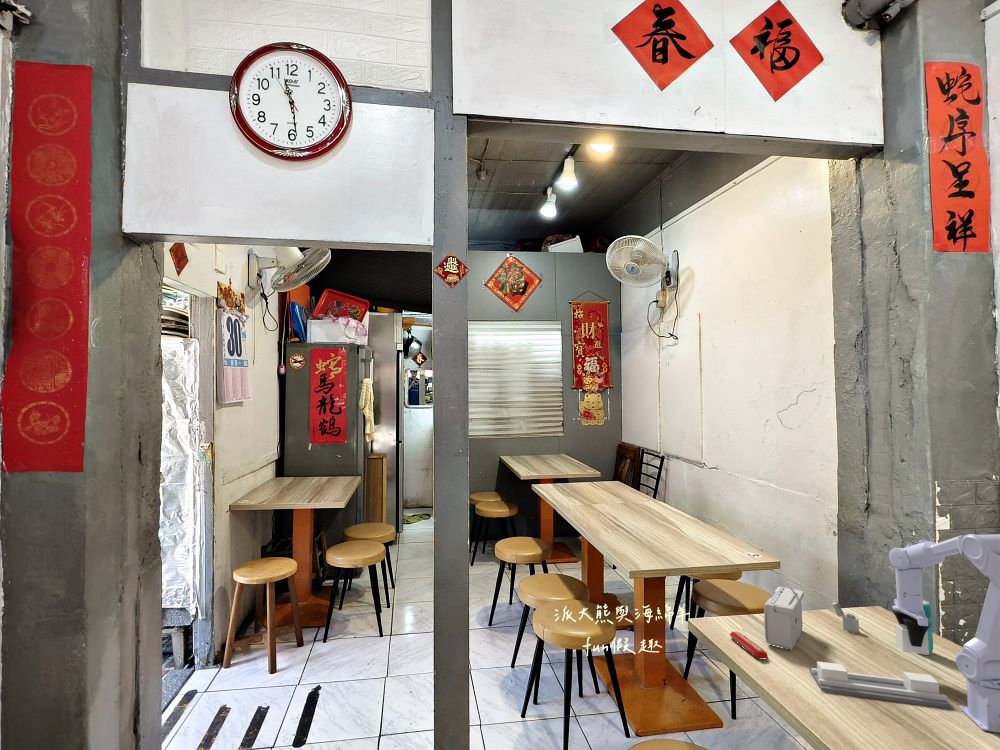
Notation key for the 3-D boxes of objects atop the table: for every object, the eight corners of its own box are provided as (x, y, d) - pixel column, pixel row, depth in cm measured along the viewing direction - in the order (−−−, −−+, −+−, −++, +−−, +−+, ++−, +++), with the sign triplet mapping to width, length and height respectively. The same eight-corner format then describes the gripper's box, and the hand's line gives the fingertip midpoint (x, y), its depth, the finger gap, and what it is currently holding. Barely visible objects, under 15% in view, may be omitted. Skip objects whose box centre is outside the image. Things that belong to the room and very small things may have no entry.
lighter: (859, 632, 168) (858, 607, 169) (857, 633, 167) (856, 608, 168) (834, 624, 174) (833, 600, 174) (833, 626, 173) (831, 602, 173)
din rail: (951, 708, 125) (950, 700, 125) (821, 691, 133) (821, 683, 133) (929, 687, 135) (929, 679, 135) (810, 672, 142) (809, 665, 143)
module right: (939, 697, 128) (938, 682, 128) (911, 693, 130) (910, 679, 130) (930, 688, 132) (930, 675, 132) (903, 685, 134) (902, 671, 134)
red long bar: (770, 662, 149) (770, 651, 149) (759, 663, 148) (758, 652, 149) (738, 638, 165) (738, 628, 165) (727, 638, 164) (727, 629, 164)
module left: (848, 685, 134) (847, 671, 134) (822, 682, 135) (821, 668, 136) (842, 677, 138) (841, 664, 138) (817, 674, 139) (816, 661, 140)
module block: (929, 654, 138) (927, 631, 139) (903, 651, 140) (901, 628, 140) (921, 648, 142) (920, 625, 142) (896, 645, 144) (895, 622, 144)
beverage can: (938, 657, 151) (935, 605, 152) (916, 655, 152) (913, 603, 153) (926, 648, 157) (923, 598, 158) (905, 646, 158) (902, 596, 159)
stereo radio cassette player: (778, 624, 174) (776, 564, 176) (806, 630, 169) (803, 569, 171) (764, 646, 158) (761, 580, 160) (794, 654, 153) (791, 586, 154)
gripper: (881, 582, 150) (883, 629, 149) (904, 599, 136) (907, 652, 135) (909, 584, 148) (912, 632, 147) (936, 602, 134) (939, 655, 133)
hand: (912, 642), depth 141 cm, fingers closed on module block, 4 cm apart
